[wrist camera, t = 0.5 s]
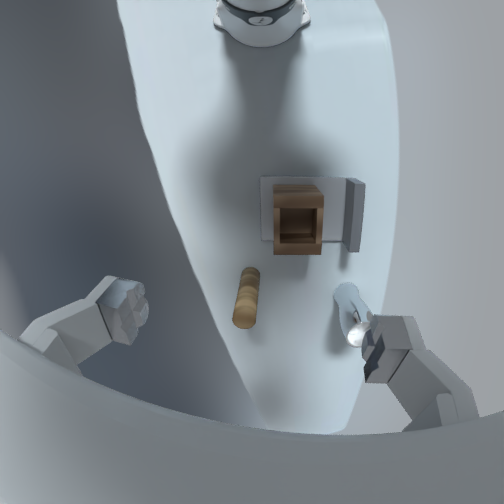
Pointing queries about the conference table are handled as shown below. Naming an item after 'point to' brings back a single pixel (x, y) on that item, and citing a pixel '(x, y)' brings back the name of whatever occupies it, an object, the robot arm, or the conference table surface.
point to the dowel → (247, 299)
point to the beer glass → (352, 314)
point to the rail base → (335, 206)
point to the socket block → (297, 219)
